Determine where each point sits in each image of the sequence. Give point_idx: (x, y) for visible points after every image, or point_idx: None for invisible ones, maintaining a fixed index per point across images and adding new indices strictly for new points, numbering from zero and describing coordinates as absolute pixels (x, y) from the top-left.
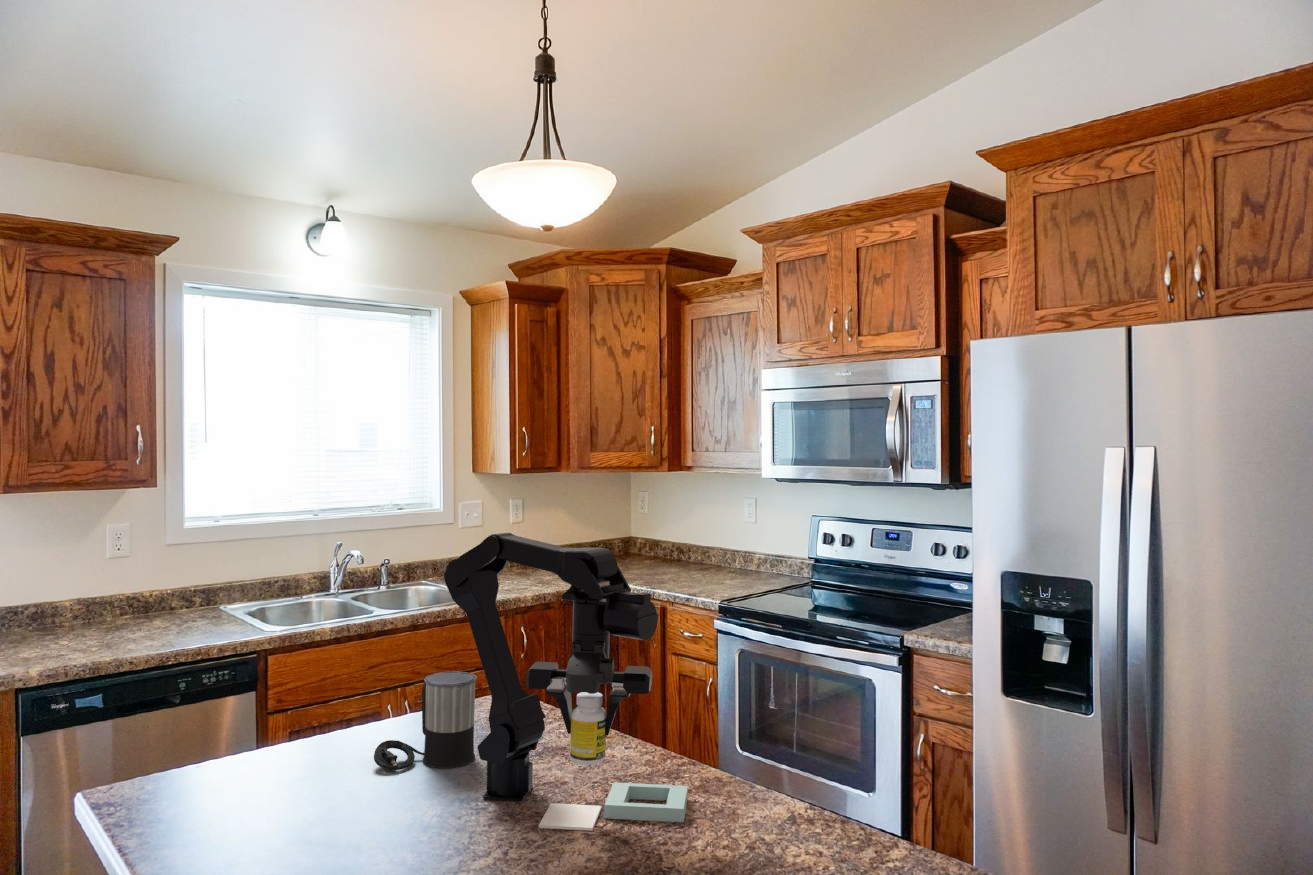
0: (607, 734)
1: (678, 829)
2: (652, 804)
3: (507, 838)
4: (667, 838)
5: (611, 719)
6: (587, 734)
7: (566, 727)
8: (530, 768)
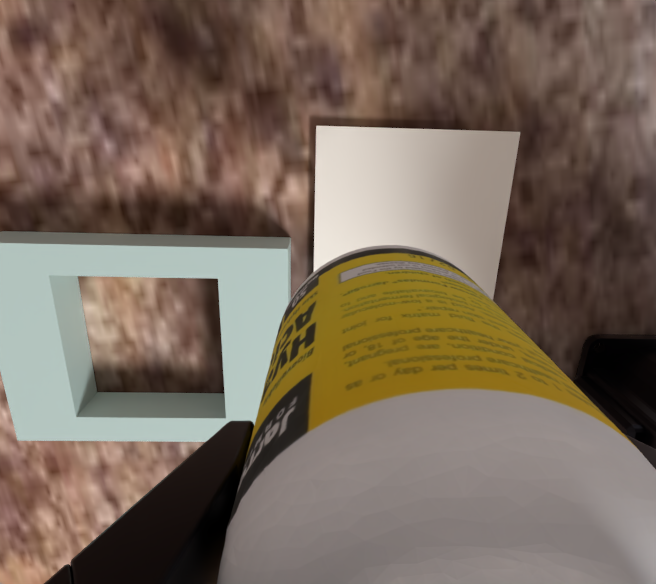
0: (232, 422)
1: (5, 170)
2: (102, 271)
3: (628, 23)
4: (23, 85)
5: (132, 519)
6: (411, 318)
7: (641, 443)
8: None
